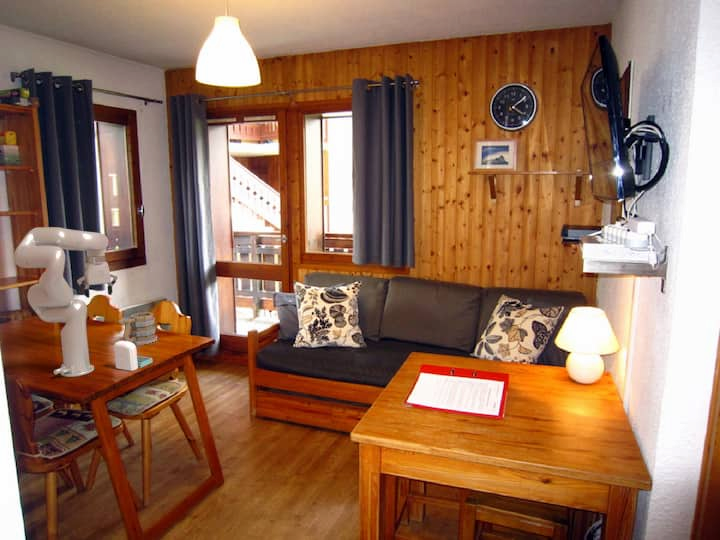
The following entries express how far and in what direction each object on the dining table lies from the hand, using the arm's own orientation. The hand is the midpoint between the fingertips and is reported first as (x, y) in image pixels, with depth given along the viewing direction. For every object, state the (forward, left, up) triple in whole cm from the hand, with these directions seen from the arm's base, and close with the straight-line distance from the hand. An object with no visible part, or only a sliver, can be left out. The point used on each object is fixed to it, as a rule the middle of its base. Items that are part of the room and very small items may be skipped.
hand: (98, 295), depth 240 cm
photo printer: (-15, -28, -27) cm, 42 cm away
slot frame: (-8, -26, -27) cm, 39 cm away
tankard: (+15, -6, -27) cm, 32 cm away
